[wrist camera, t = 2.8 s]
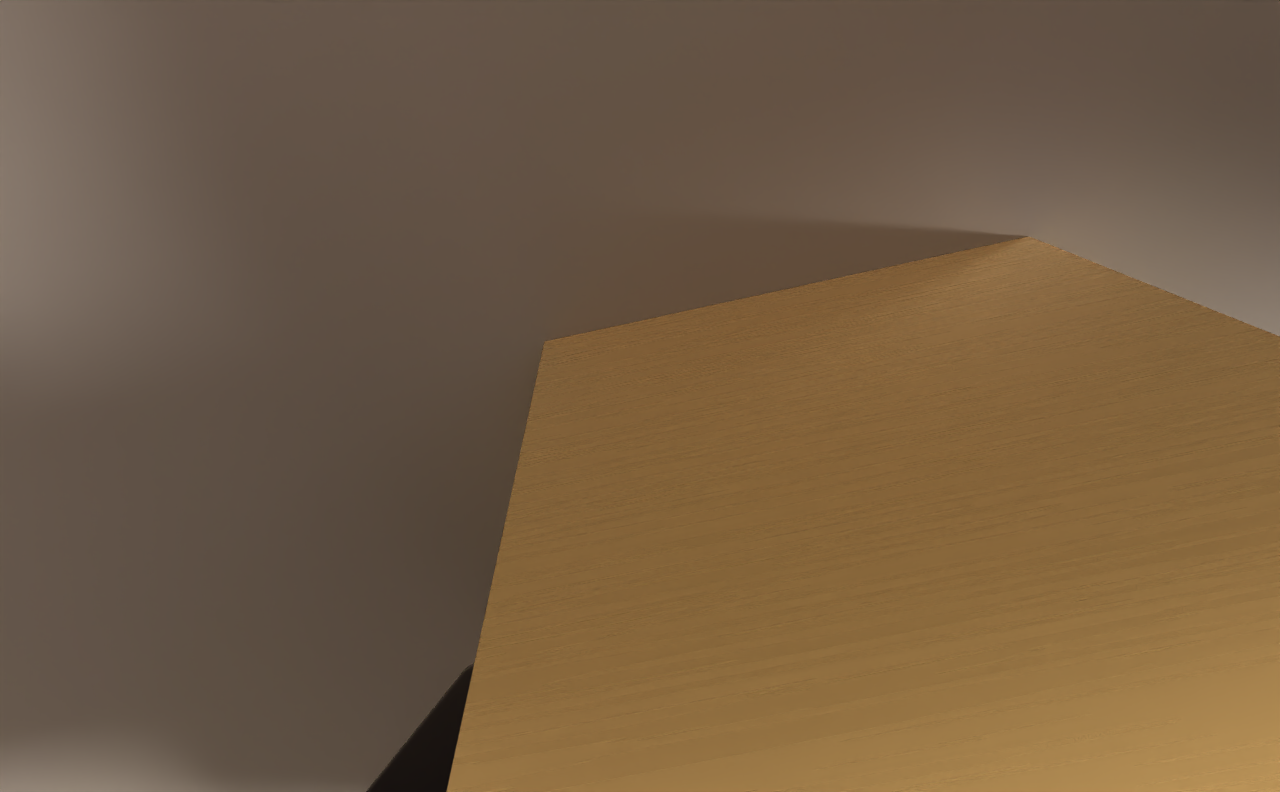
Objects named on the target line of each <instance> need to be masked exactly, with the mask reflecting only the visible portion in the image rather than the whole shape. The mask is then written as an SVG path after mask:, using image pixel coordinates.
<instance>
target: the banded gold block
mask: <svg viewBox="0 0 1280 792" xmlns="http://www.w3.org/2000/svg"><path fill="white" fill-rule="evenodd" d="M447 792H1280V337H1279V336H1277V335H1274V334H1272V333H1269V332H1267V331H1264V330H1262V329H1259V328H1257V327H1254V326H1252V325H1249V324H1247V323H1244V322H1242V321H1239V320H1237V319H1234V318H1232V317H1229V316H1227V315H1224V314H1222V313H1219V312H1217V311H1214V310H1212V309H1209V308H1207V307H1204V306H1202V305H1199V304H1197V303H1194V302H1192V301H1189V300H1187V299H1184V298H1182V297H1179V296H1177V295H1174V294H1172V293H1169V292H1167V291H1164V290H1162V289H1159V288H1157V287H1154V286H1152V285H1149V284H1147V283H1144V282H1142V281H1139V280H1137V279H1134V278H1132V277H1129V276H1127V275H1124V274H1122V273H1119V272H1117V271H1114V270H1112V269H1109V268H1107V267H1104V266H1102V265H1099V264H1097V263H1094V262H1092V261H1089V260H1087V259H1084V258H1082V257H1079V256H1077V255H1074V254H1072V253H1069V252H1067V251H1064V250H1062V249H1059V248H1057V247H1054V246H1052V245H1049V244H1047V243H1044V242H1042V241H1039V240H1037V239H1034V238H1032V237H1024V238H1020V239H1015V240H1010V241H1006V242H1001V243H997V244H992V245H987V246H983V247H978V248H973V249H969V250H964V251H960V252H955V253H950V254H946V255H941V256H937V257H932V258H927V259H923V260H918V261H914V262H909V263H904V264H900V265H895V266H890V267H886V268H881V269H877V270H872V271H867V272H863V273H858V274H854V275H849V276H844V277H840V278H835V279H831V280H826V281H821V282H817V283H812V284H807V285H803V286H798V287H794V288H789V289H784V290H780V291H775V292H771V293H766V294H761V295H757V296H752V297H748V298H743V299H738V300H734V301H729V302H724V303H720V304H715V305H711V306H706V307H701V308H697V309H692V310H688V311H683V312H678V313H674V314H669V315H665V316H660V317H655V318H651V319H646V320H641V321H637V322H632V323H628V324H623V325H618V326H614V327H609V328H605V329H600V330H595V331H591V332H586V333H582V334H577V335H572V336H568V337H563V338H559V339H554V340H549V341H545V342H544V346H543V351H542V355H541V360H540V364H539V369H538V374H537V378H536V383H535V387H534V392H533V397H532V401H531V406H530V410H529V415H528V420H527V424H526V429H525V433H524V438H523V443H522V447H521V452H520V456H519V461H518V465H517V470H516V475H515V479H514V484H513V488H512V493H511V498H510V502H509V507H508V511H507V516H506V521H505V525H504V530H503V534H502V539H501V544H500V548H499V553H498V557H497V562H496V567H495V571H494V576H493V580H492V585H491V590H490V594H489V599H488V603H487V608H486V613H485V617H484V622H483V626H482V631H481V636H480V640H479V645H478V649H477V654H476V659H475V663H474V668H473V672H472V677H471V682H470V686H469V691H468V695H467V700H466V704H465V709H464V714H463V718H462V723H461V727H460V732H459V737H458V741H457V746H456V750H455V755H454V760H453V764H452V769H451V773H450V778H449V783H448V787H447Z"/></svg>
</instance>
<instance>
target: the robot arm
mask: <svg viewBox="0 0 1280 792" xmlns="http://www.w3.org/2000/svg"><path fill="white" fill-rule="evenodd" d="M473 668H474V664H473V665H470V666H469V667H467V668H466V669H465V670H464V671H463V672H462V673H461V675H460V676H459V677H458V678H457V680H456V681H455V682H454V683H453V685H452V686H451V687H450V688H449V690H448V691H447V692H446V693H445V695H444V696H443V697H442V698H441V700H440V701H439V702H438V703H437V704H436V706H435V707H434V708H433V709H432V711H431V712H430V713H429V714H428V716H427V717H426V718H425V719H424V721H423V722H422V723H421V724H420V726H419V727H418V728H417V729H416V731H415V732H414V733H413V734H412V736H411V737H410V738H409V739H408V740H407V742H406V743H405V744H404V745H403V747H402V748H401V749H400V750H399V752H398V753H397V754H396V755H395V757H394V758H393V759H392V760H391V762H390V763H389V764H388V765H387V767H386V768H385V769H384V770H383V771H382V773H381V774H380V775H379V776H378V778H377V779H376V780H375V781H374V783H373V784H372V785H371V786H370V788H369V789H368V790H367V791H366V792H447V787H448V783H449V778H450V773H451V769H452V764H453V760H454V755H455V750H456V746H457V741H458V737H459V732H460V727H461V723H462V718H463V714H464V709H465V704H466V700H467V695H468V691H469V686H470V682H471V677H472V672H473Z"/></svg>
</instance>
